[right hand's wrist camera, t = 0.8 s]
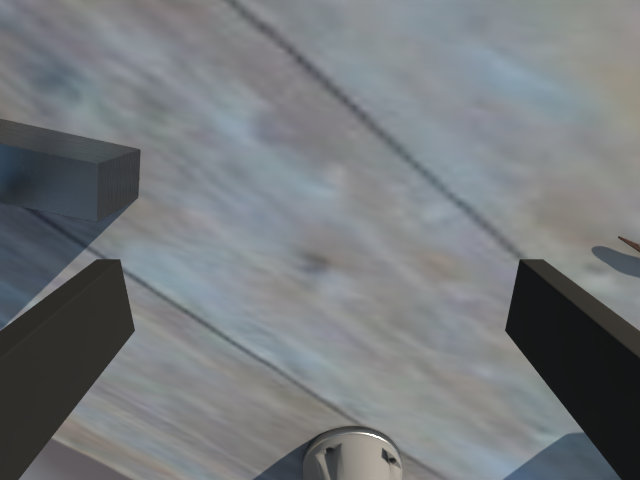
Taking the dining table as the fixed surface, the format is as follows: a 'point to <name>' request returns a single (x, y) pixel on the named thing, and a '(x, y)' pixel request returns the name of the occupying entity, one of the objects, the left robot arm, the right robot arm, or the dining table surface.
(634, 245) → the fork
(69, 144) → the bar
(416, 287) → the dining table surface
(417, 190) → the dining table surface
